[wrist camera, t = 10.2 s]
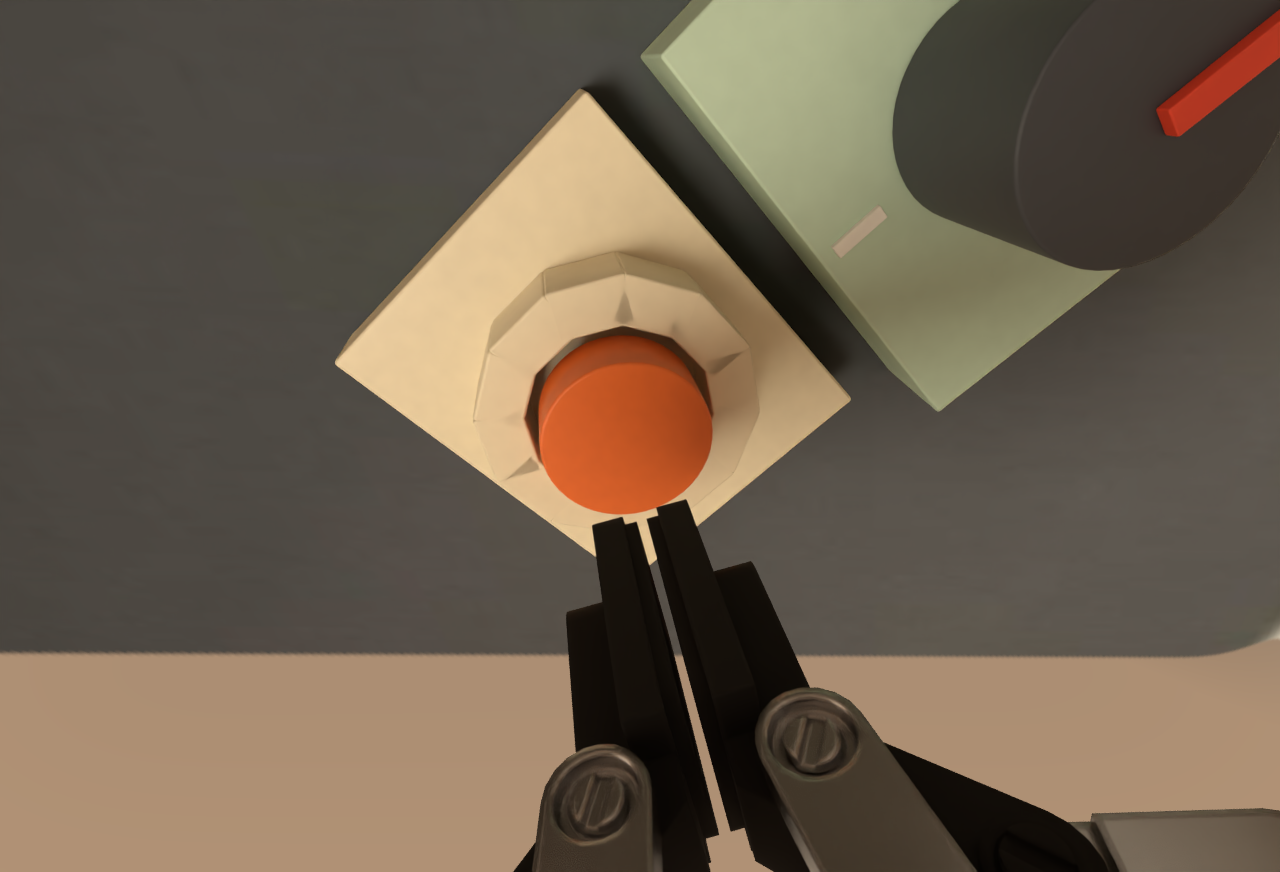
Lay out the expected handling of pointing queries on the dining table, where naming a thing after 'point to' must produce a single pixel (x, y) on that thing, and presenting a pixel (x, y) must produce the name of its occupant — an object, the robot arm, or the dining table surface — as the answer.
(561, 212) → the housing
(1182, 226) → the program dial
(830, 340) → the dining table surface
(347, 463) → the dining table surface
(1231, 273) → the dining table surface
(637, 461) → the button
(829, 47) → the panel
